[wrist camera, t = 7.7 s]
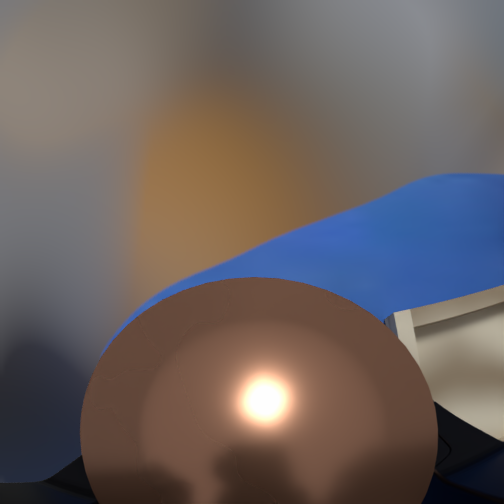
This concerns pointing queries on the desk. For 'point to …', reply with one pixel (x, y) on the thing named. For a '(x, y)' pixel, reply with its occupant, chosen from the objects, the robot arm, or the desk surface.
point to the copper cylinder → (258, 403)
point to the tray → (460, 354)
